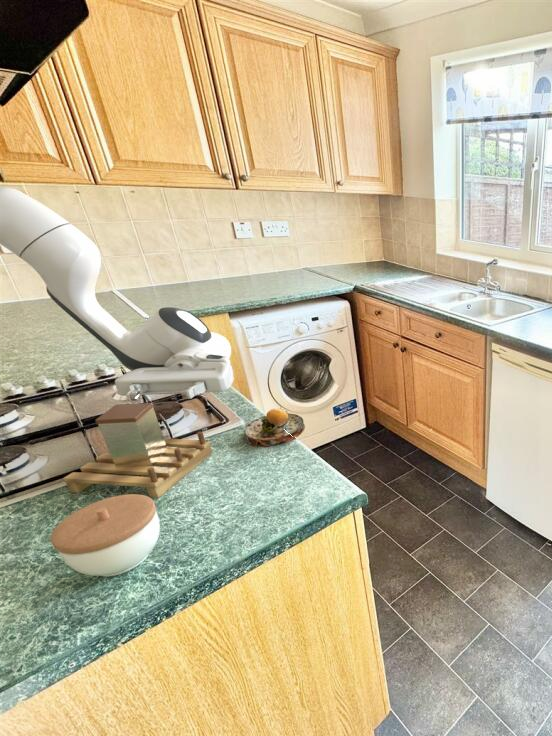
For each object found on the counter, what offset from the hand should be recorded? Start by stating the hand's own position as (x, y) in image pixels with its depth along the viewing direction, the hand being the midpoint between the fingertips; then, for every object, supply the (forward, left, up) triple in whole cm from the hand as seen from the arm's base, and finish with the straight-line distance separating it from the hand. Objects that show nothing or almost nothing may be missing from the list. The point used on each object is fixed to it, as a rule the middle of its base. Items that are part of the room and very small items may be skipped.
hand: (158, 396), depth 84 cm
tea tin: (+3, -10, -8) cm, 13 cm away
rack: (+3, -10, -11) cm, 15 cm away
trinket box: (+16, -30, -11) cm, 36 cm away
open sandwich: (+19, +6, -11) cm, 22 cm away
